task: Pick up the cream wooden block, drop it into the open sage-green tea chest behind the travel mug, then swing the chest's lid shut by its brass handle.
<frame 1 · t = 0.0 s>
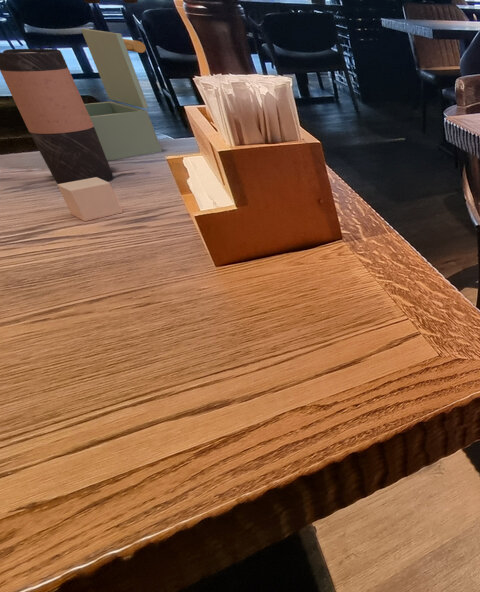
hand: (112, 3, 91), 26 cm above the table, tool pointing down, fingers open, 8 cm apart
block: (97, 213, 76), on the table
lid: (129, 67, 99), point 15 cm above the table, hinge at 90.0°
chest: (111, 157, 100), on the table
travel mug: (86, 182, 88), on the table
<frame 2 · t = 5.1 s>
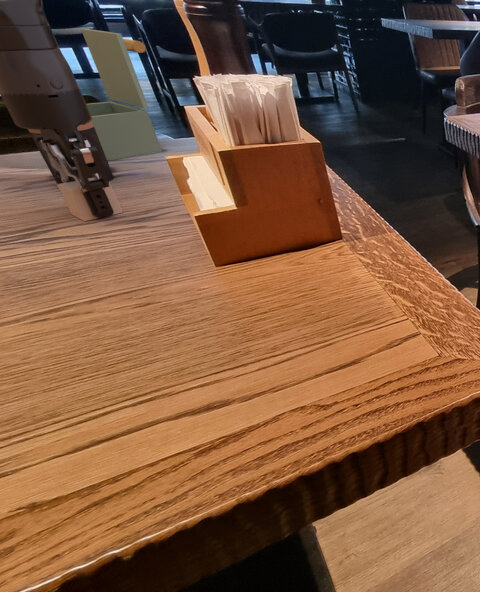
hand: (96, 211, 76), 0 cm above the table, tool pointing down, fingers closed on block, 4 cm apart
block: (97, 213, 76), on the table, touching gripper
everything else where it was.
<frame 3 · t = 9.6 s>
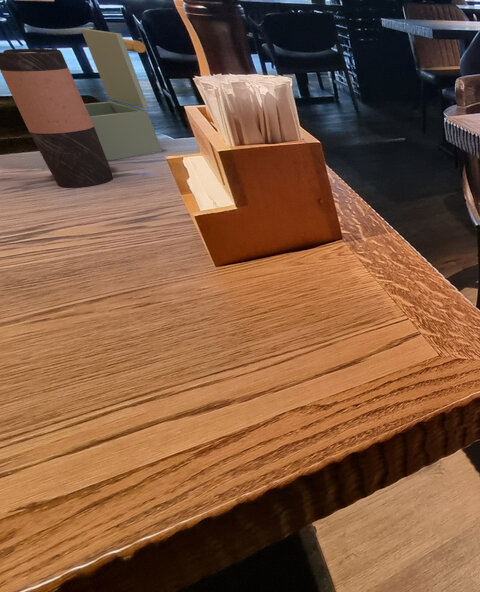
block: (30, 0, 80), point 27 cm above the table, touching gripper
everything else where it was.
when the fingers open (10 cm above the table, at t = 14.3 s): block drops 9 cm, resting on chest.
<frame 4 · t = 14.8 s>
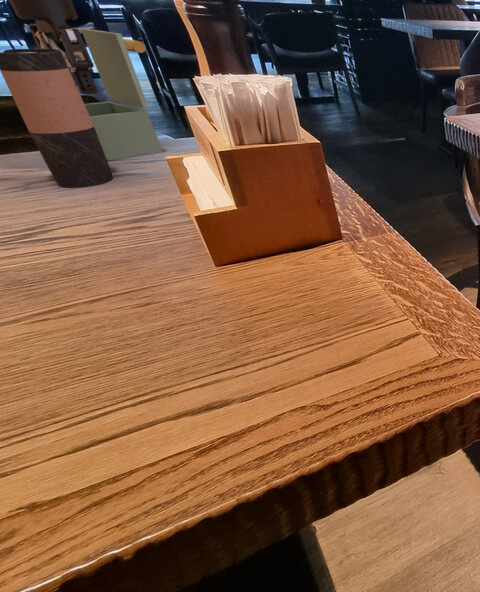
hand: (79, 91, 94), 12 cm above the table, tool pointing down, fingers open, 8 cm apart
block: (106, 153, 99), point 1 cm above the table, touching chest
everything else where it was.
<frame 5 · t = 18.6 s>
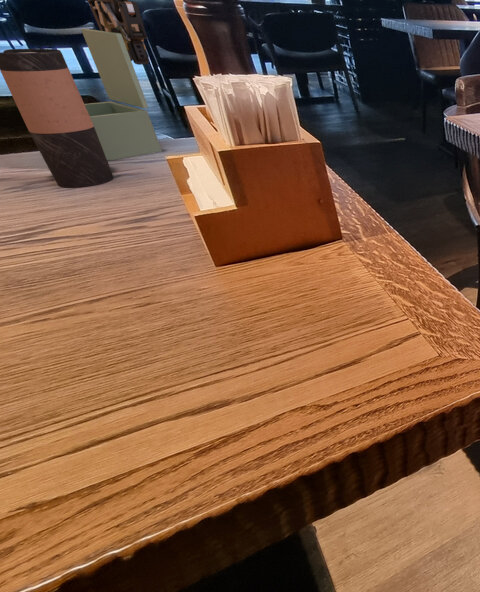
hand: (134, 62, 99), 16 cm above the table, tool pointing down, fingers closed on lid, 6 cm apart
lid: (129, 67, 99), point 15 cm above the table, hinge at 90.0°, touching gripper
everything else where it was.
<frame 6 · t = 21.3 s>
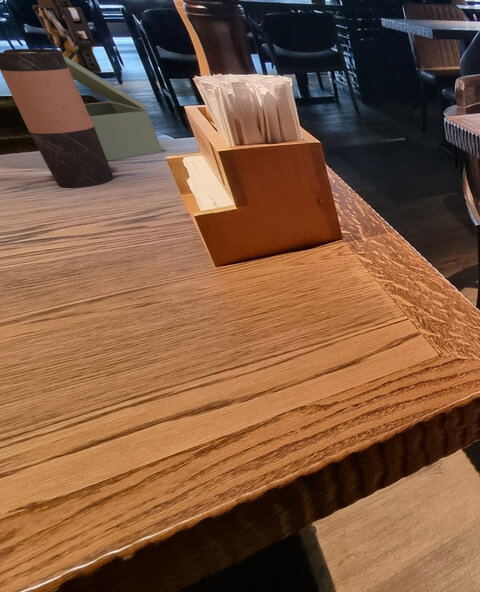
hand: (86, 71, 94), 15 cm above the table, tool pointing down, fingers closed on lid, 6 cm apart
lid: (97, 70, 95), point 15 cm above the table, hinge at 46.2°, touching gripper
everything else where it was.
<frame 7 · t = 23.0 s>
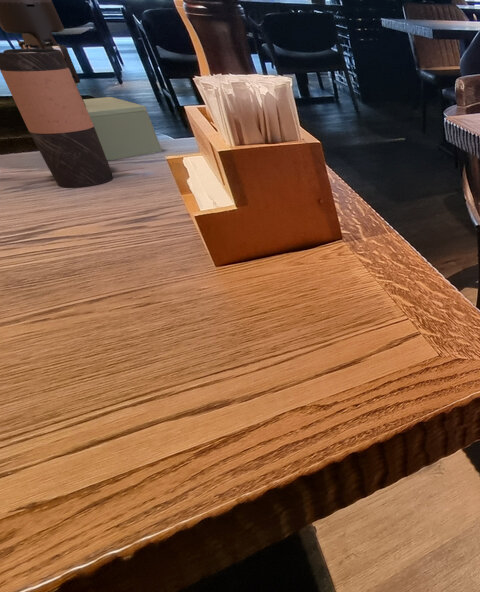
hand: (70, 106, 93), 10 cm above the table, tool pointing down, fingers closed on lid, 6 cm apart
lid: (82, 94, 94), point 11 cm above the table, hinge at -0.3°, touching chest, gripper
everything else where it was.
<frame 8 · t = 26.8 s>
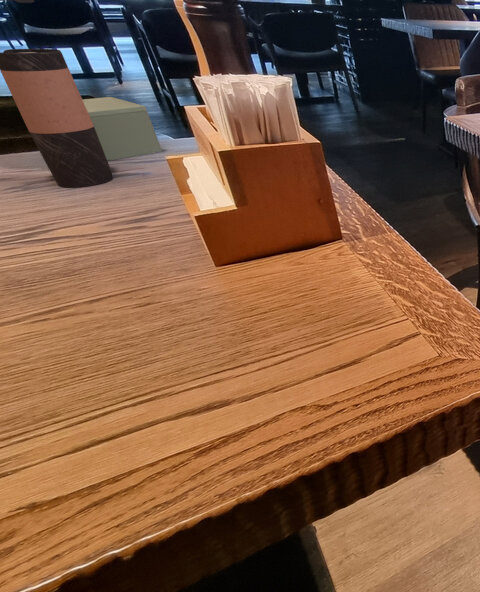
hand: (15, 1, 84), 26 cm above the table, tool pointing down, fingers open, 8 cm apart
lid: (82, 94, 94), point 11 cm above the table, hinge at -0.2°, touching chest
everything else where it was.
at the end: block inside the target area in the chest (0.5 cm from its centre), point 0.8 cm above the chest's base; lid at +0° (first picture: +90°) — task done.
